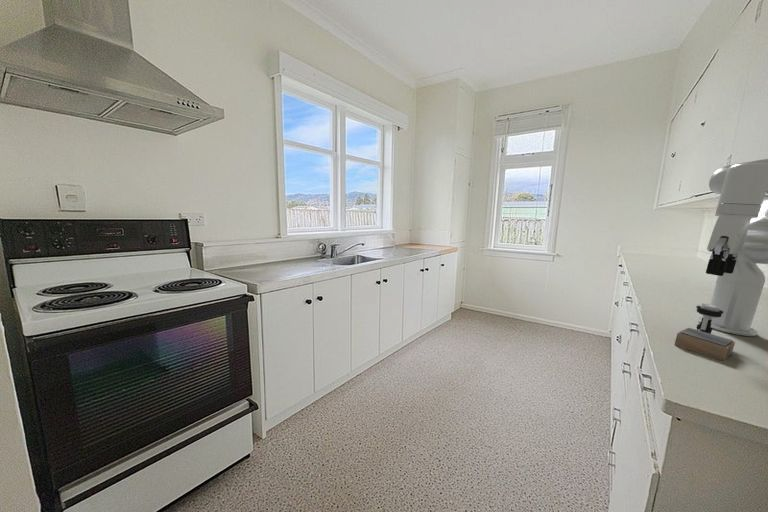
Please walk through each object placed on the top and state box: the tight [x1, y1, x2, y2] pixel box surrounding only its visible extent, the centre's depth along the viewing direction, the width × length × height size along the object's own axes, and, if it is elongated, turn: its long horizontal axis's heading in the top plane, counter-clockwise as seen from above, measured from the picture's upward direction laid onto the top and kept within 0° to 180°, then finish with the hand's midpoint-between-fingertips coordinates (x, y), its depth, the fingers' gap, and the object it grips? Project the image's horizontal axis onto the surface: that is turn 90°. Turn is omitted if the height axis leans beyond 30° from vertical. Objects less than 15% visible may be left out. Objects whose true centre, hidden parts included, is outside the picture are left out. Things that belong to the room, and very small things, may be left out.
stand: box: [674, 327, 736, 362], centre depth 78 cm, size 8×9×4 cm
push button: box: [695, 303, 724, 334], centre depth 85 cm, size 7×5×10 cm
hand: (719, 273), depth 82 cm, fingers open, 9 cm apart
